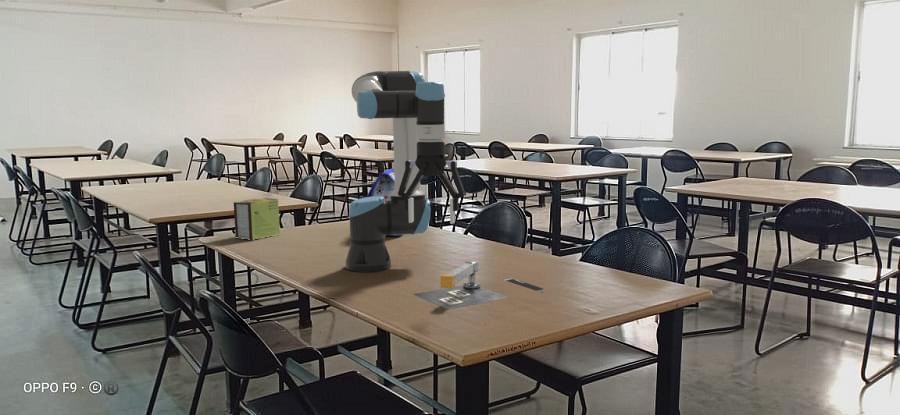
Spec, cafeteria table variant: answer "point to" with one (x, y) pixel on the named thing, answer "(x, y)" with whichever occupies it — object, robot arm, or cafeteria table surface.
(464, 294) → the label
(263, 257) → the cafeteria table surface
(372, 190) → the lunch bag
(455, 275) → the swing arm
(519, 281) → the smartphone
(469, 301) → the board
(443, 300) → the label
